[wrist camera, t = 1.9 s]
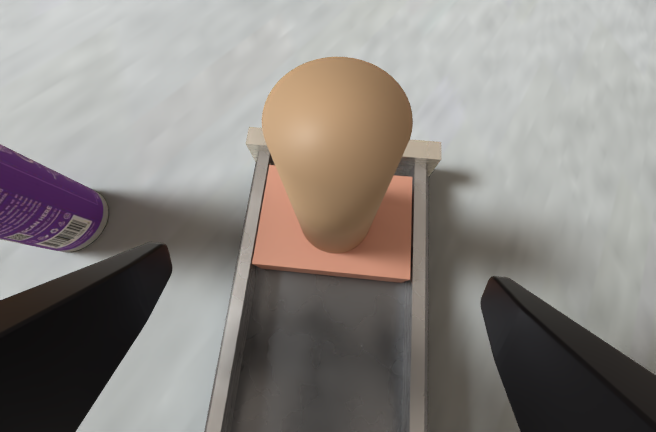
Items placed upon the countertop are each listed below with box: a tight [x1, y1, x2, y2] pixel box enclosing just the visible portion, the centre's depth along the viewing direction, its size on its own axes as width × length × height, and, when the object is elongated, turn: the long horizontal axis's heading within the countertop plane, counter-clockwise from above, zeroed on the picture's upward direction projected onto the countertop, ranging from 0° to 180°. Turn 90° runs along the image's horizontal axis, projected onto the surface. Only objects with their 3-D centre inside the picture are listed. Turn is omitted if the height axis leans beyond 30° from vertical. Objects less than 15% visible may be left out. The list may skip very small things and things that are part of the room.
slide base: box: [204, 127, 441, 432], centre depth 17 cm, size 21×12×4 cm, turn 174°
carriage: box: [252, 57, 413, 283], centre depth 14 cm, size 6×9×12 cm
